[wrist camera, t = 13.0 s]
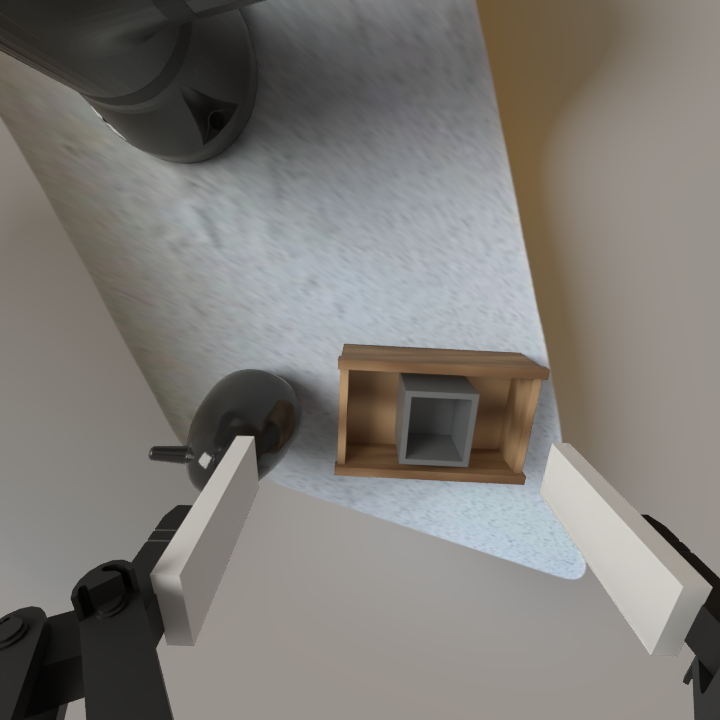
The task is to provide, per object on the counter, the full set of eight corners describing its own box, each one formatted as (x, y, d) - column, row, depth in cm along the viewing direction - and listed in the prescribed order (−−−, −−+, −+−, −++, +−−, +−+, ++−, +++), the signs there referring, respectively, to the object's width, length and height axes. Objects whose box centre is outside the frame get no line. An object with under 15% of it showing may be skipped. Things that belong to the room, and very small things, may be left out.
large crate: (342, 342, 38) (338, 359, 33) (522, 352, 38) (549, 369, 33) (338, 444, 42) (334, 475, 36) (502, 452, 42) (524, 484, 36)
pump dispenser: (230, 345, 39) (149, 402, 24) (318, 375, 40) (291, 446, 25) (211, 423, 42) (129, 514, 27) (294, 448, 43) (257, 550, 28)
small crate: (399, 370, 38) (405, 390, 33) (462, 373, 38) (479, 394, 33) (394, 434, 41) (399, 463, 35) (453, 437, 41) (467, 467, 35)
